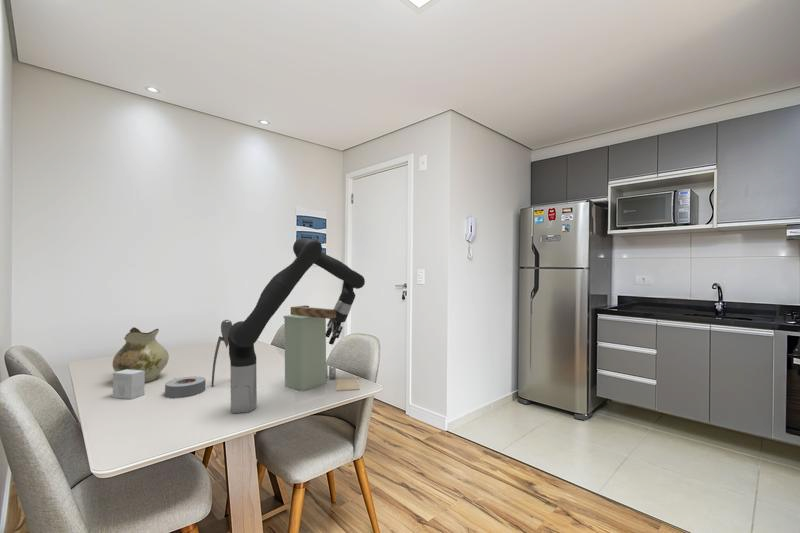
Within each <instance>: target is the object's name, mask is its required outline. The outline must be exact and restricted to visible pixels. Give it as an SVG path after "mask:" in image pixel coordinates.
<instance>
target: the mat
mask: <svg viewBox="0 0 800 533" xmlns="http://www.w3.org/2000/svg"><path fill="white" fill-rule="evenodd" d="M345 391H347V392H348V391H360V384H359V379H358V377H351V378H350V377H349V378H336V391H335V392H345Z"/></svg>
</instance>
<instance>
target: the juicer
mask: <svg viewBox="0 0 800 533" xmlns="http://www.w3.org/2000/svg"><path fill="white" fill-rule="evenodd" d="M220 324H221V325H220V332H221V336H219V337H218V340H217V344H216V346H215V351H214V356H213V364H212V372H211V387H212V388H213V387H214V383H215V382H214V381H215V374H216V373H215V372H216V365H217V364H216V363H217V359H218V358H217V357H218V353H219V349H220V345H221V341H222V342H223V343H224V344H225V348H226V349H227V348H228V347H229V331H230V328H231V327H232V325H233V323H232V321H231V320H230V319H224V320H222V321H221V323H220Z"/></svg>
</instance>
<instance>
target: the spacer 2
mask: <svg viewBox="0 0 800 533" xmlns="http://www.w3.org/2000/svg"><path fill="white" fill-rule="evenodd" d="M328 379H329V380H331V381H333V380H334V381H335V380H337V366H336V365H329V366H328Z"/></svg>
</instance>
